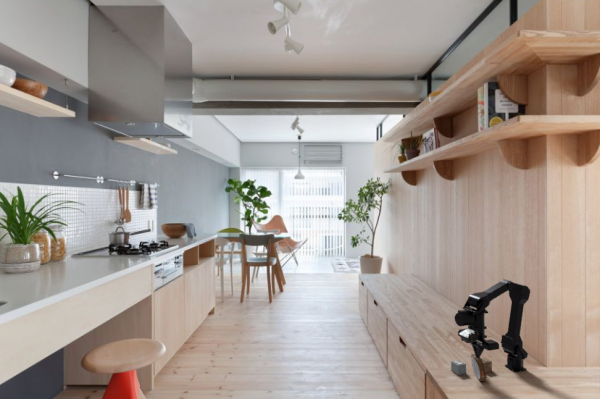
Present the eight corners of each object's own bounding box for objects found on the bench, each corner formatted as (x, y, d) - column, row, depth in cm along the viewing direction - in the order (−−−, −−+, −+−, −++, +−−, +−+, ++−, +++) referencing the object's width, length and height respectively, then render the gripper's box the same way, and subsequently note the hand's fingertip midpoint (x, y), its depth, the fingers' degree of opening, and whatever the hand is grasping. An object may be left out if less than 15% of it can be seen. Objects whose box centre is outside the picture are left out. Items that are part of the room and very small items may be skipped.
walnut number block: (484, 366, 172) (484, 356, 172) (492, 371, 168) (491, 360, 168) (476, 368, 171) (476, 358, 171) (484, 372, 167) (484, 362, 167)
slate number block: (459, 369, 170) (458, 359, 170) (466, 373, 166) (466, 363, 166) (451, 370, 169) (451, 360, 169) (458, 375, 164) (458, 365, 164)
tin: (487, 385, 156) (487, 365, 156) (479, 384, 156) (479, 365, 156) (477, 368, 170) (477, 350, 170) (470, 368, 171) (470, 350, 171)
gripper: (448, 318, 170) (448, 352, 170) (479, 332, 152) (479, 369, 152) (467, 316, 173) (467, 348, 173) (499, 329, 155) (500, 365, 155)
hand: (477, 357), depth 163 cm, fingers closed, pressing on tin
